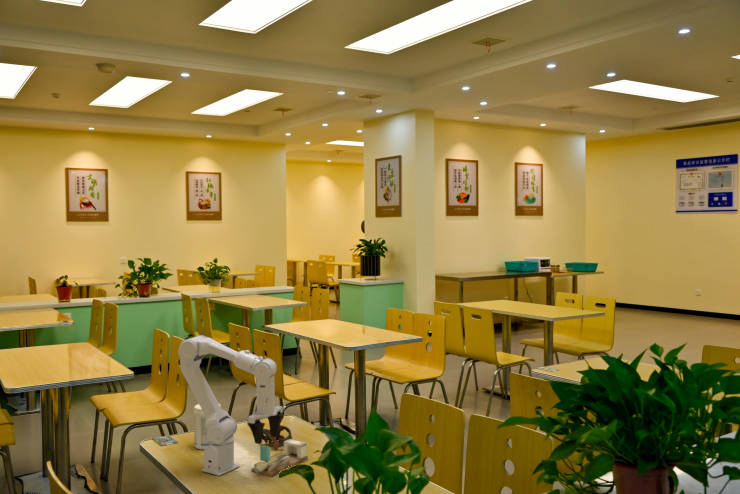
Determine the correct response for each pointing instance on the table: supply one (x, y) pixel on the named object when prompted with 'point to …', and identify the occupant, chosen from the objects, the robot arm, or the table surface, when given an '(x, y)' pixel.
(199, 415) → the supplement tub
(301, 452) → the socket block
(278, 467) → the channel board
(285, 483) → the table surface
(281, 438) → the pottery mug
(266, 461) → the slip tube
